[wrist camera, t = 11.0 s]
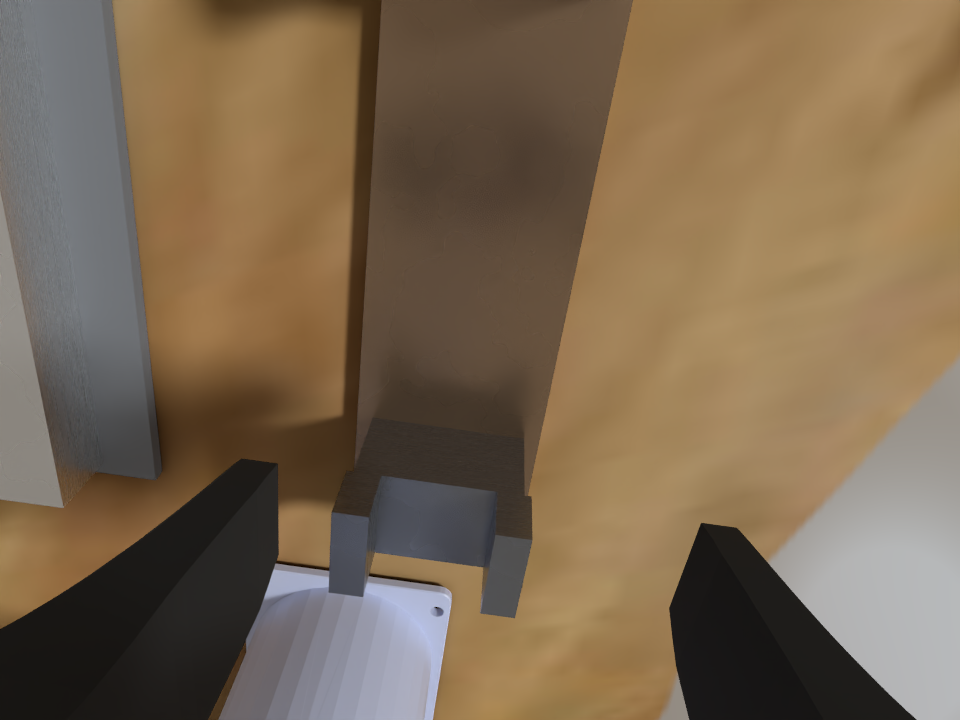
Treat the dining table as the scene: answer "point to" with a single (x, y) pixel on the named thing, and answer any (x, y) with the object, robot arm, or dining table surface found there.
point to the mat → (100, 224)
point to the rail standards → (470, 274)
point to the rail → (37, 294)
